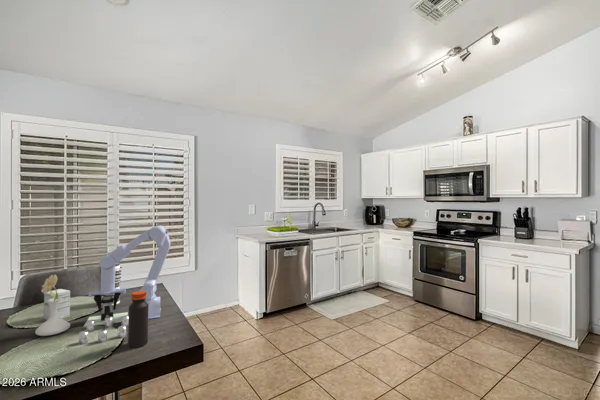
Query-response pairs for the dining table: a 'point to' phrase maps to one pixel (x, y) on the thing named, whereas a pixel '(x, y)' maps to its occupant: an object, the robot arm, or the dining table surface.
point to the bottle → (138, 320)
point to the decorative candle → (116, 282)
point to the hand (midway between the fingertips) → (107, 310)
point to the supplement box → (63, 305)
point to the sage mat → (116, 319)
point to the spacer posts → (103, 333)
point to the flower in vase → (52, 311)
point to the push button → (107, 307)
